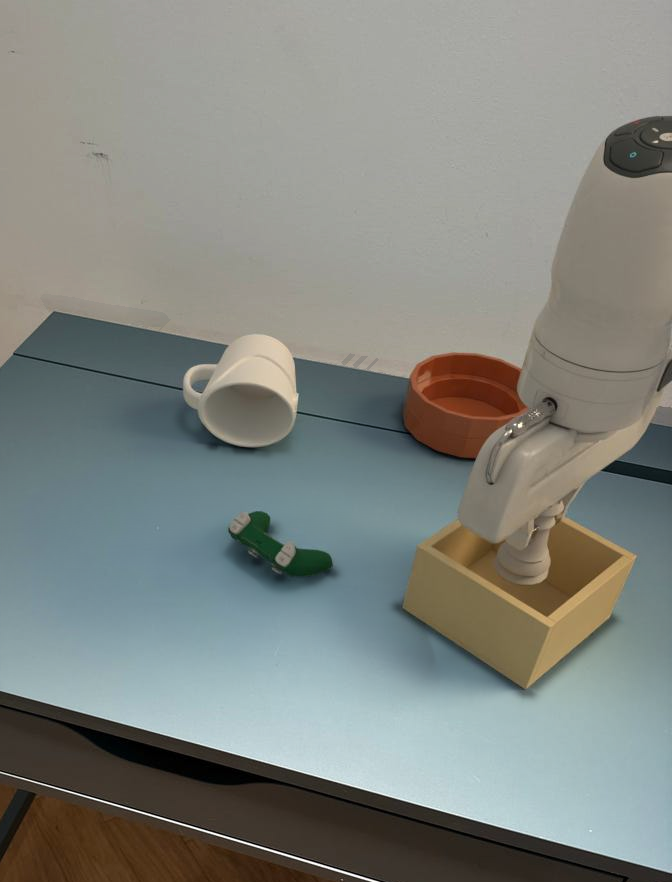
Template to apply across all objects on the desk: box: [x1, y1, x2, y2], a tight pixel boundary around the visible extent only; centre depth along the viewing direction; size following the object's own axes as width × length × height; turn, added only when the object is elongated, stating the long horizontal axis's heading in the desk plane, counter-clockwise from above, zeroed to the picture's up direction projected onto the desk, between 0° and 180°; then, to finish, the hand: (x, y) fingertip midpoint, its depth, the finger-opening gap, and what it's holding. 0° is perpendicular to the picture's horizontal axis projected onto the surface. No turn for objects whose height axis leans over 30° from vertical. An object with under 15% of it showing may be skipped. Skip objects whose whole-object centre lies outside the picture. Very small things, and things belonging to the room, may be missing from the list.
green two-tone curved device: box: [227, 510, 334, 578], centre depth 89 cm, size 9×4×6 cm
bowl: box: [402, 351, 528, 459], centre depth 104 cm, size 13×13×5 cm
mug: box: [182, 333, 299, 448], centre depth 102 cm, size 12×9×8 cm
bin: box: [401, 516, 637, 690], centre depth 83 cm, size 13×13×7 cm
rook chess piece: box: [493, 498, 564, 586], centre depth 79 cm, size 4×4×8 cm
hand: (533, 531), depth 79 cm, fingers closed on rook chess piece, 3 cm apart
